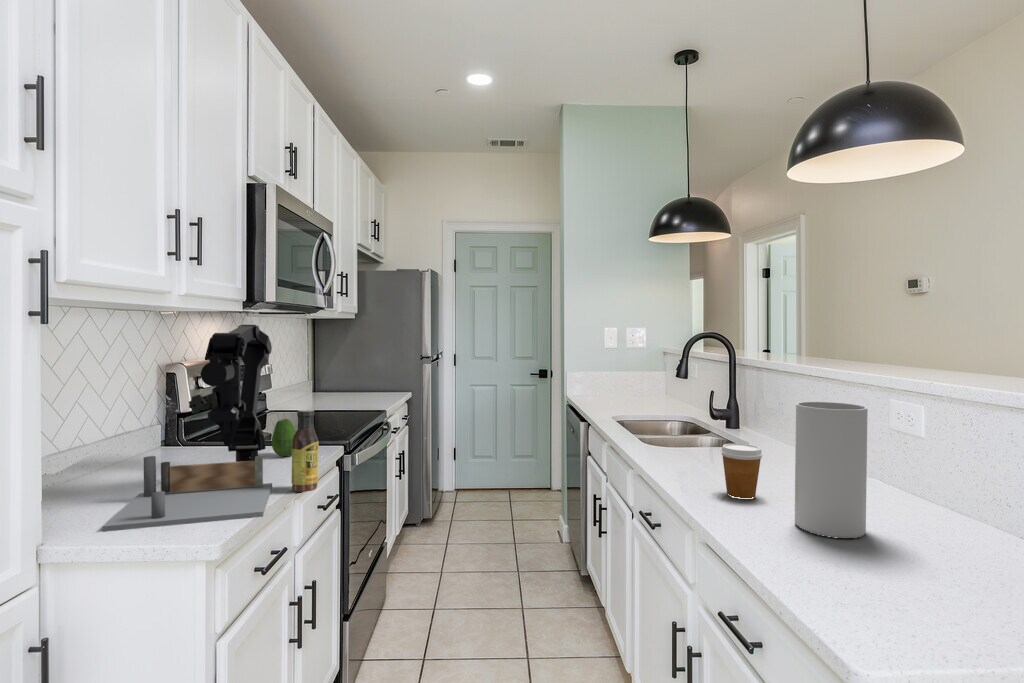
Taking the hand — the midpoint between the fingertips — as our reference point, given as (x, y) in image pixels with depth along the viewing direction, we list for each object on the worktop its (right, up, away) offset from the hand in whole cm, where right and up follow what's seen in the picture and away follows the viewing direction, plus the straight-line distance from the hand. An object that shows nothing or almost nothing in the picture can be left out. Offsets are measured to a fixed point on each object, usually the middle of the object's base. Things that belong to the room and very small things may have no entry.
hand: (228, 444), depth 142 cm
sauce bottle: (+20, -11, -1) cm, 23 cm away
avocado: (0, -11, +35) cm, 37 cm away
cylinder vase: (+136, -12, -29) cm, 139 cm away
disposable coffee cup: (+127, -12, -6) cm, 128 cm away
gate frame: (+1, -11, -15) cm, 19 cm away
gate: (0, -10, -6) cm, 12 cm away
